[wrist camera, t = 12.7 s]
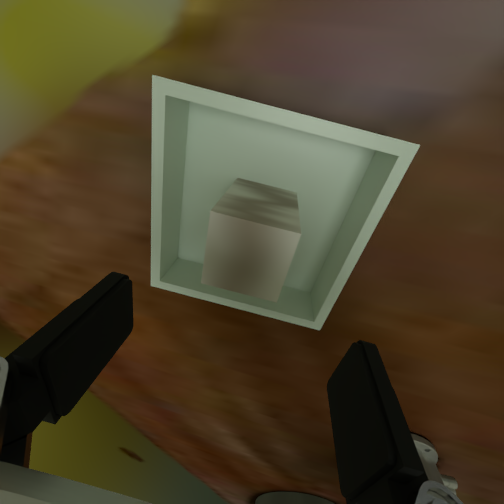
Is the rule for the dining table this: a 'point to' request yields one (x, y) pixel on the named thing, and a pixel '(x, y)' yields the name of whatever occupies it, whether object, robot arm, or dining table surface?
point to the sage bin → (269, 173)
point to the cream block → (252, 239)
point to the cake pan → (290, 498)
